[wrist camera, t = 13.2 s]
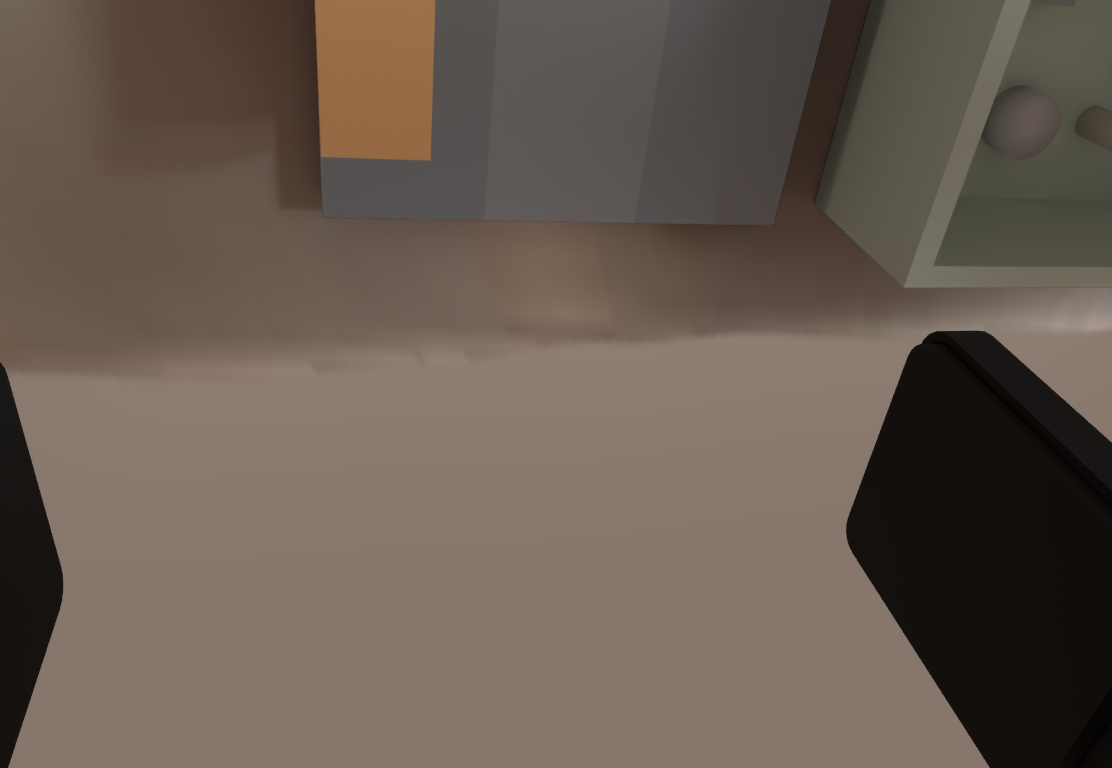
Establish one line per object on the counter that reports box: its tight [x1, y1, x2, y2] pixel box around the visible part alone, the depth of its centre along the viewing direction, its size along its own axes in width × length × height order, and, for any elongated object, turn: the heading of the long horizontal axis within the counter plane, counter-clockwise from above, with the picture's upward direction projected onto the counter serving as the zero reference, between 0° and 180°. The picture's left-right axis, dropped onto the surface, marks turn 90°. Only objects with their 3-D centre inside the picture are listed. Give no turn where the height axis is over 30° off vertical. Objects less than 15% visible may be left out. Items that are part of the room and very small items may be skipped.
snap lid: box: [314, 0, 831, 226], centre depth 28 cm, size 16×14×6 cm
